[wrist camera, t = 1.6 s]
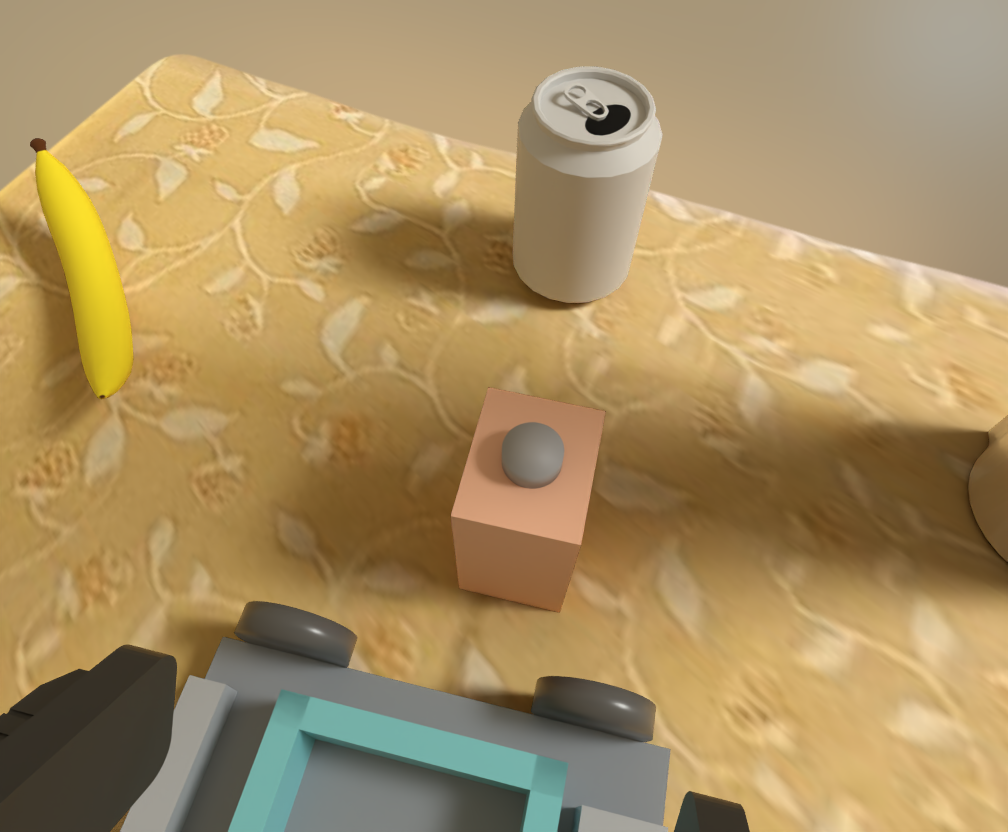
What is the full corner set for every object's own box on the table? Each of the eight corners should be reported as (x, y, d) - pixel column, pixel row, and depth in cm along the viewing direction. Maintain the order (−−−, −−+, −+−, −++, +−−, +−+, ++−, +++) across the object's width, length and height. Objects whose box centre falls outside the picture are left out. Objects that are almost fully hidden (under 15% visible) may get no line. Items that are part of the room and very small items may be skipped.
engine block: (488, 480, 37) (488, 373, 29) (581, 500, 37) (609, 398, 28) (459, 588, 34) (449, 505, 26) (560, 612, 34) (584, 535, 25)
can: (578, 332, 43) (607, 170, 32) (487, 268, 45) (487, 99, 35) (651, 265, 45) (699, 97, 35) (562, 209, 48) (583, 37, 38)
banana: (116, 456, 38) (54, 391, 32) (63, 225, 46) (7, 143, 41) (171, 436, 38) (119, 369, 33) (109, 212, 47) (60, 130, 42)
